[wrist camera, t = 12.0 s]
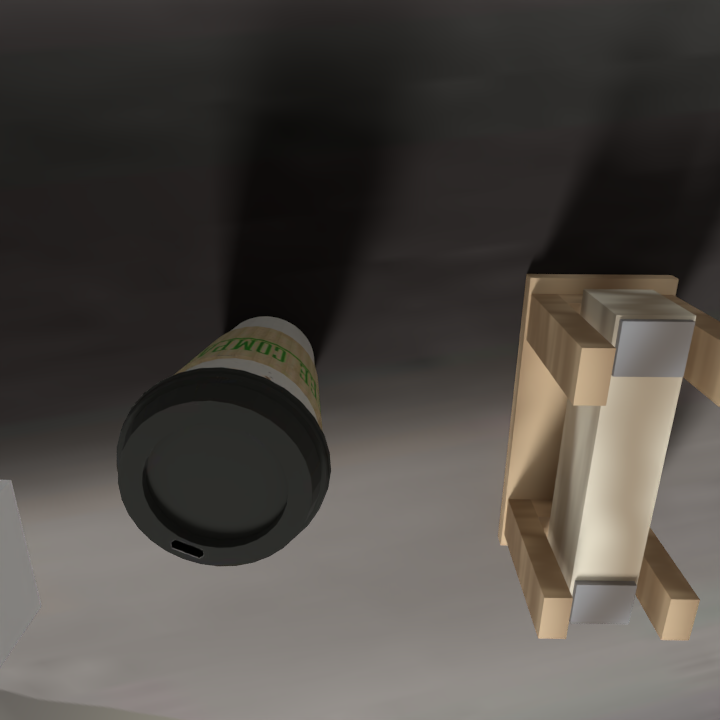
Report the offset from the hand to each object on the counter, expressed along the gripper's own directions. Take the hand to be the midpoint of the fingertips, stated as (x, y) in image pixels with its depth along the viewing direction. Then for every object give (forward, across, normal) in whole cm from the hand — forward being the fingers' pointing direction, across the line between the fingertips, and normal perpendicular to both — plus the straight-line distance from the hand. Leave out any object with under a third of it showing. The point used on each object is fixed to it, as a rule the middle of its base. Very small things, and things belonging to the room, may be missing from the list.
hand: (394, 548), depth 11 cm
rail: (+26, +14, -12) cm, 32 cm away
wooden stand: (+29, +14, -12) cm, 34 cm away
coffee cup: (+29, -7, -8) cm, 31 cm away
